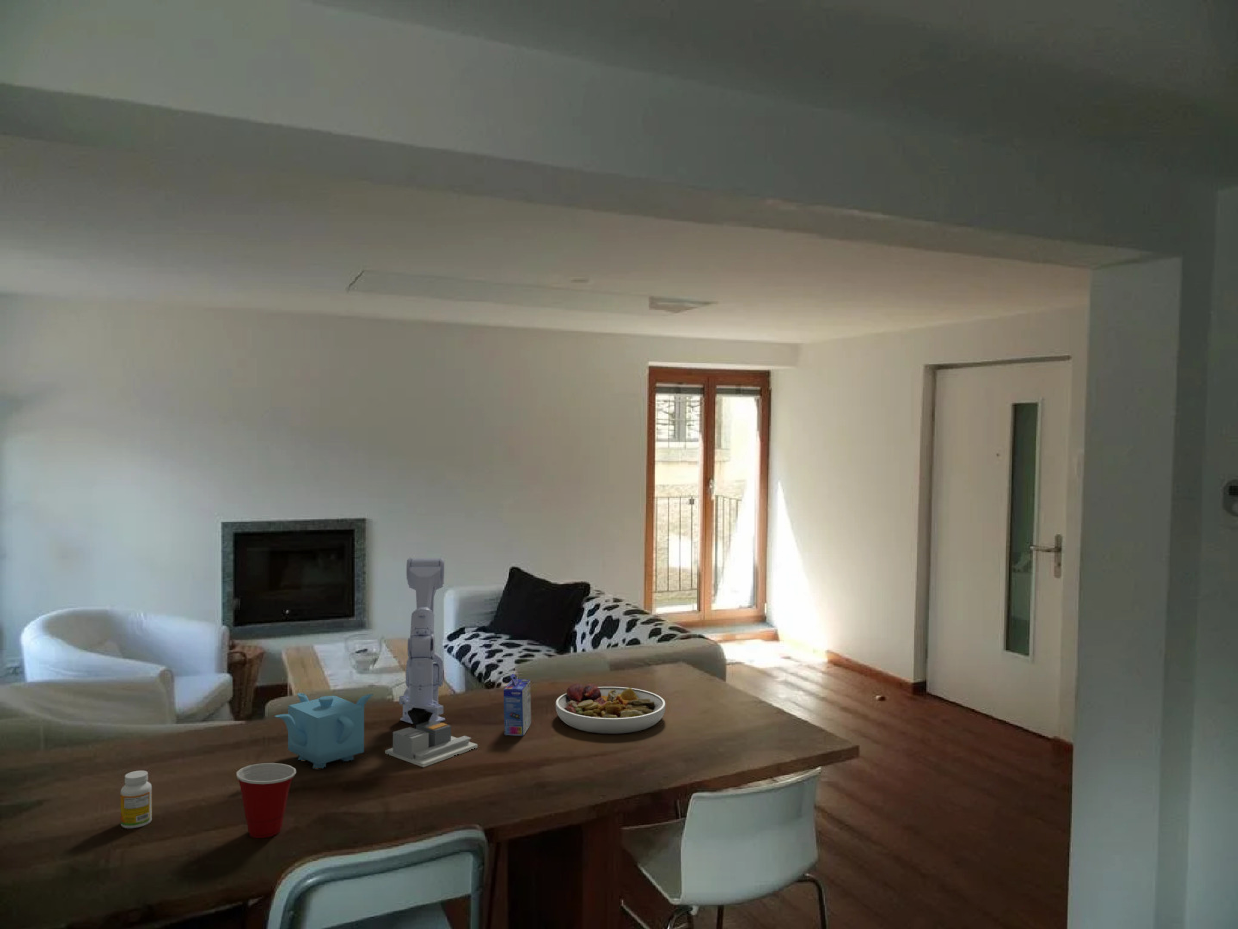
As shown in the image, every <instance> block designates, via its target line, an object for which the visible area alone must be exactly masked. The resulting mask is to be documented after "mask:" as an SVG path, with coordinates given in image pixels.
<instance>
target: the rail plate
mask: <svg viewBox="0 0 1238 929" xmlns="http://www.w3.org/2000/svg"><path fill="white" fill-rule="evenodd" d="M471 739H472V737H469V736H467V735H463V736H460V737H455V736H453V735H451V741H448V742H445V743H442V744H439V745H436V746H433V747H430V748H428V742H429V733H427V732H425V731H422V730H417V729H414V727H411V726H409V727H405V728H401V729H399V730H395V731H393V732H392V747H391V748H388V749H386V750H385V751H384V752H385V754H386V755H388V754H389V756H392V757H394V758H397V759H399V760H403V761H406V762H408V763H411V764H412V765H416V766H419V767H421V768H425V767H428V766H431V765H435V764H436V763H439V762H441V761H444V760H447V759H448V760H449V759H450V758H453V757H455V756H454V755H456V756H458V755H457V754H459V755H461V754H464V753H466V752H469V750H470V751H472V750H471V749H473V750H475V749H478V743H474V742H471V741H470V740H471ZM474 748H475V749H474Z"/></svg>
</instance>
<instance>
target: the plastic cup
mask: <svg viewBox="0 0 1238 929" xmlns="http://www.w3.org/2000/svg"><path fill="white" fill-rule="evenodd" d="M296 774H297V769H296V768H295V767H293V766H292V765H289V764H285V763H277V762H276V763H275V762H268V763H267V762H265V763H256V764H249V765H247V766H244V767H242V768H240V769H239V770H237V771H236V778H237V779H238V782H239V786H240V792H241V798H242V803H243V810H244V816H245V820H246V825H247V830H248V833H249V836H250V837H252V838H254V839H264V838H266V839H267V838H270V837H273V836H276V835H278V834H279V833H280V832H281V831H282V828H283V822H284V817H285V813H286V808H287V802H288V797H289V792H290V787H291V784H292V782H293V778H294V777H295V775H296Z"/></svg>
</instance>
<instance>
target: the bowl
mask: <svg viewBox="0 0 1238 929" xmlns="http://www.w3.org/2000/svg"><path fill="white" fill-rule="evenodd" d="M555 710H556V714H557V716H558V717H559V719H560V720H561V721H563V723H565V724H566V725H568V727H569V726H570V727H571V728H574V729H576V730H579V731H584V732H586V733H587V732H588V733H595V734H606V735H607V734H608V735H609V734H610V735H611V734H612V735H614V734H615V735H617V734H630V733H635V732H639V731H642V730H646V729H649V728H651V727H653V726H655V725H656V724H657V723H659V722H660V720H662V718H663V716H664V714H665V712H666V701H665V699H664V698H663V697H661V696H660V695H658V694H656V693H654V692H651V691H648V690H643V689H639V688H633V687H624V686H623V687H622V686H597V684H595V683H594V684H593V683H588V684H587V685H585V686H583V685H582V684H580V683H574V684H572V685H570V686H569V687H567V689H566V693H564V694H562V695H560V696H559V697H557V699H556V701H555Z"/></svg>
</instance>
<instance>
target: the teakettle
mask: <svg viewBox="0 0 1238 929" xmlns="http://www.w3.org/2000/svg"><path fill="white" fill-rule="evenodd" d="M296 695H297V697H298V699H299V701H300V702H298V703H293V704H288V706H287V709H288V710H287V713H282V714H277V715H274V717H275V718H279V719H281V720H283V722H284V724H285V726H286V729H287V734H288V735H287V745H288V746H287V751H289V752H291V753H293V754H294V755H296V756H299V757H298V759H297V761H298V760H307V761H308V762H310V763H311V764H312V765H313V766H312V768H313V767H314V768H322V769H324V767H325V768H326V767H327V763H331V762H334V761H339V760H340V761H342V760H343V761H342V762H350V761H349V760H351V761H353V760H354V759H355V757H354V756H355V755H359V754H362V753H365V706H366V703H367V702H368V700H369V699H370V698H372V696H374V694H373V693H370V694H366V695H362V696H361V697H360V698H359V699H358V700H357V701H356V703H355V702H354V703H353V702H352V701H349V700H347V699H344V698H341V697H339V696H336V695H334V694H333V695H324V696H321V697H318V698H316V699H312V700H311V699H310V700H309V698H308V696H307V695H306V694H305V693H303V692H299V693H298V692H297V694H296ZM314 768H313V769H314Z"/></svg>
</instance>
